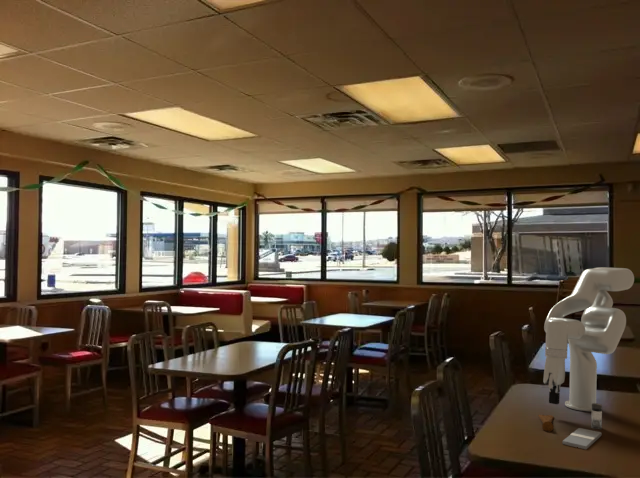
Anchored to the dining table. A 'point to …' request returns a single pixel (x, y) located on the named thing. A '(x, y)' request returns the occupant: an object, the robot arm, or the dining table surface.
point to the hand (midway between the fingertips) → (554, 403)
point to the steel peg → (596, 416)
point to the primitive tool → (547, 422)
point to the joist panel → (582, 438)
